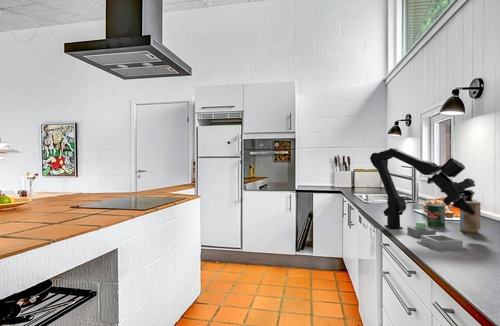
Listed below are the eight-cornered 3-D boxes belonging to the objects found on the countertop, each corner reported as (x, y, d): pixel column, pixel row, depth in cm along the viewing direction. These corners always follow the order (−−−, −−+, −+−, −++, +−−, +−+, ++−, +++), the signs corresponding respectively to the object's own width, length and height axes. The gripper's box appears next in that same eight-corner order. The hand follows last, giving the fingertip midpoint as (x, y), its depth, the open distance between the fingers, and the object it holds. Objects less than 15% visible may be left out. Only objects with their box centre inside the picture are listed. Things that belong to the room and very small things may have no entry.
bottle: (481, 233, 137) (481, 200, 137) (464, 233, 139) (464, 200, 138) (473, 230, 144) (473, 198, 144) (457, 229, 145) (457, 198, 145)
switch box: (407, 233, 139) (407, 226, 139) (424, 232, 140) (424, 226, 140) (418, 237, 131) (418, 230, 131) (435, 237, 132) (435, 230, 132)
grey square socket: (416, 242, 124) (416, 234, 124) (444, 241, 125) (444, 234, 125) (436, 250, 112) (436, 242, 112) (467, 249, 113) (467, 241, 113)
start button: (414, 231, 138) (414, 221, 138) (422, 231, 138) (422, 221, 138) (419, 234, 134) (419, 223, 134) (428, 233, 134) (428, 223, 134)
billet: (463, 228, 125) (463, 202, 125) (467, 227, 128) (467, 201, 128) (476, 230, 121) (476, 203, 121) (480, 228, 124) (480, 202, 124)
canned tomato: (445, 225, 155) (445, 204, 155) (445, 228, 148) (445, 206, 148) (427, 223, 159) (427, 203, 159) (426, 226, 153) (426, 205, 153)
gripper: (451, 172, 122) (485, 202, 113) (469, 171, 133) (500, 198, 124) (430, 190, 128) (460, 220, 120) (449, 188, 139) (477, 215, 131)
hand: (475, 213), depth 123 cm, fingers closed on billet, 4 cm apart
